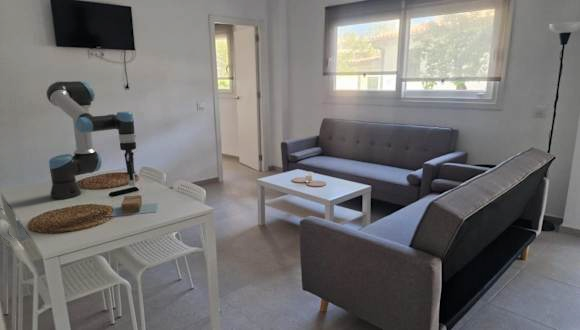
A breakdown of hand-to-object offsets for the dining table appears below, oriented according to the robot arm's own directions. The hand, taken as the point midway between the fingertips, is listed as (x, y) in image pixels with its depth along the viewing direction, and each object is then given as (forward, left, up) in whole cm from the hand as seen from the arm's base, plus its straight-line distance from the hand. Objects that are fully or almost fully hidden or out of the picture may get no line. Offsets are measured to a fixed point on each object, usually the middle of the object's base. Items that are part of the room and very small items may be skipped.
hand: (132, 185), depth 193 cm
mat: (+10, 0, -10) cm, 14 cm away
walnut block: (+2, 0, -8) cm, 8 cm away
